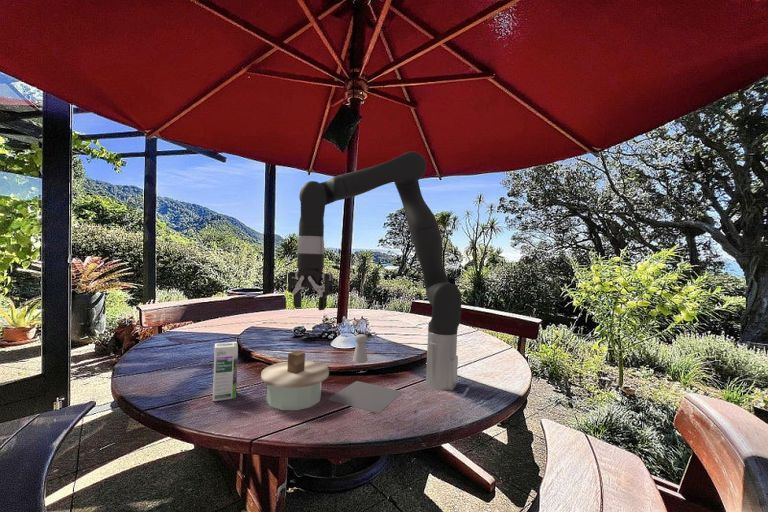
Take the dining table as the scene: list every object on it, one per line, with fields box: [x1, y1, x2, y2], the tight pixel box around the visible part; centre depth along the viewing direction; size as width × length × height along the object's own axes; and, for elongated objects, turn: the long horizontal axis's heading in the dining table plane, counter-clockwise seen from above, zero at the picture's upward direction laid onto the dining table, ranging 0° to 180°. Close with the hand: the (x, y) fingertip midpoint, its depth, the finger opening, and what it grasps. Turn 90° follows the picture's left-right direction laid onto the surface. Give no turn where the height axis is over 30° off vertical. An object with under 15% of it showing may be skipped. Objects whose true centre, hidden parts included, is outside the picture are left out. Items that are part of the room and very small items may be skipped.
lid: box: [260, 350, 330, 388], centre depth 91 cm, size 18×18×6 cm
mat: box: [326, 380, 403, 414], centre depth 95 cm, size 16×16×1 cm
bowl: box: [266, 381, 323, 411], centre depth 91 cm, size 14×14×7 cm
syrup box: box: [212, 341, 239, 402], centre depth 92 cm, size 6×6×14 cm
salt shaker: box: [352, 333, 369, 374], centre depth 115 cm, size 6×6×13 cm
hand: (309, 308), depth 95 cm, fingers open, 8 cm apart
